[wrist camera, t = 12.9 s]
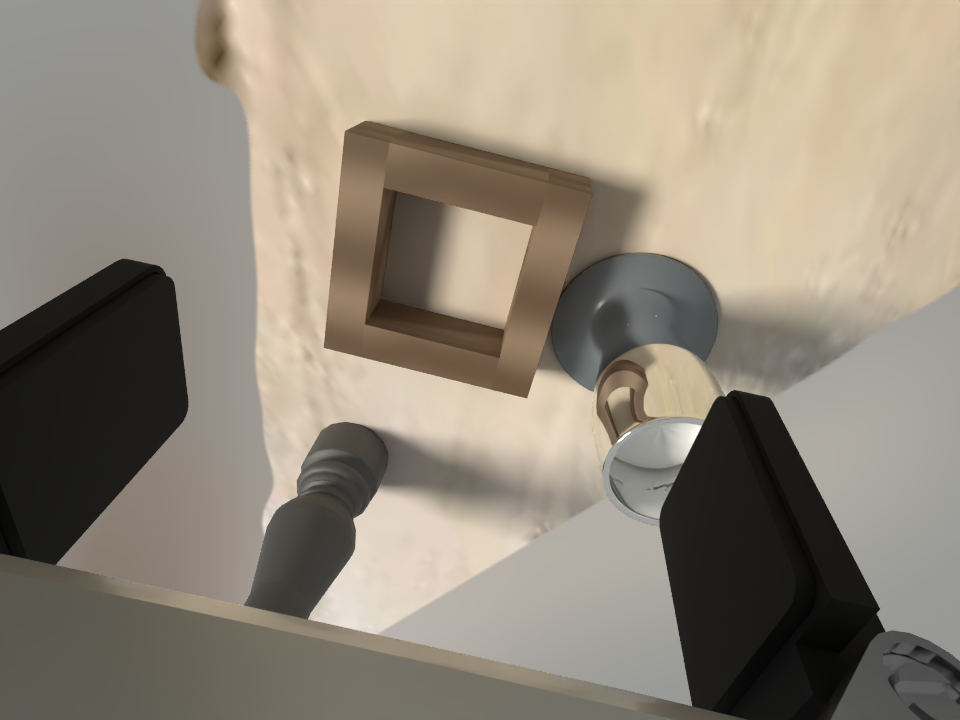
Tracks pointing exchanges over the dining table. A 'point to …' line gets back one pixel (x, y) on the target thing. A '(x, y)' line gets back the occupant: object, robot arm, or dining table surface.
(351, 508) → the candle holder
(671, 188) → the dining table surface
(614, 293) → the coaster
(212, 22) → the dining table surface
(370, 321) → the frame
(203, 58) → the dining table surface
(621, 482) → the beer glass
